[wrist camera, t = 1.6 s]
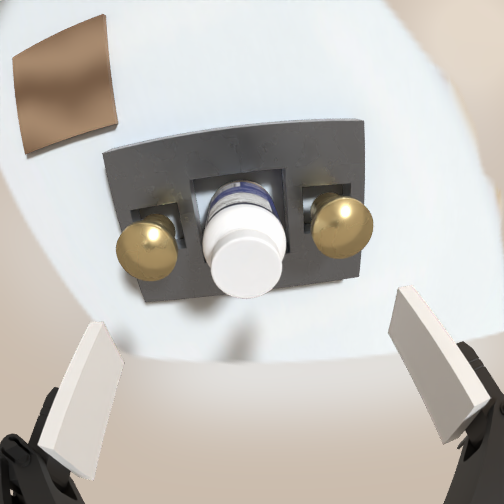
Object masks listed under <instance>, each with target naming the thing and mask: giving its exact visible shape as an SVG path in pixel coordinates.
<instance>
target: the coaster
mask: <svg viewBox="0 0 504 504" xmlns="http://www.w3.org/2000/svg"><path fill="white" fill-rule="evenodd" d="M12 60H13V76H14V88H15V97H16V105H17V112H18V119H19V125H20V131H21V136H22V142H23V147H24V151H25V154H28V153H30V152H33V151H35V150H38V149H40V148H43V147H46V146H48V145H51V144H54V143H56V142H59V141H62V140H65V139H68V138H71V137H74V136H77V135H80V134H83V133H86V132H89V131H92V130H96V129H99V128H103V127H106V126H110V125H113V124H117V123H118V119H117V113H116V107H115V100H114V93H113V86H112V78H111V70H110V61H109V51H108V40H107V27H106V15H104V14H102V15H99V16H96V17H94V18H91V19H89V20H86V21H84V22H81V23H79V24H77V25H74V26H72V27H70V28H67V29H65V30H63V31H61V32H59V33H57V34H55V35H53V36H51V37H49V38H47V39H45V40H43V41H41V42H39V43H37V44H35V45H33V46H32V47H30V48H28V49H26V50H24V51H23V52H21V53H19V54H18V55H16V56H14V57H13V58H12Z"/></svg>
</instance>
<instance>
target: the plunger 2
mask: <svg viewBox="0 0 504 504" xmlns="http://www.w3.org/2000/svg"><path fill="white" fill-rule="evenodd" d="M310 214H311V218H312V221H311V236H312V238H313V241H314V243H315V244H316V246H317V248H318V249H319V250H320V252H322V253H323V254H324V255H326V256H328V257H330V258H335V259H344V258H348V257H351V256H353V255H355V254H357V253H358V252H360V251H361V250H362V249H363V248H364V247H365V246H366V245H367V243H368V242H369V240H370V238H371V235H372V232H373V219H372V216H371V213H370V212H369V210H368V209H367V208H366V207H365V206H364V205H363V204H362V203H361V202H360V201H358V200H357V199H355V198H353V197H349V196H340V195H338V194H336V193H332V192H328V193H324V194H321V195H320V196H318V197H317V198H316V199H315V200H314V202H313V203H312V206H311V210H310Z"/></svg>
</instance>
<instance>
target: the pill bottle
mask: <svg viewBox="0 0 504 504" xmlns="http://www.w3.org/2000/svg"><path fill="white" fill-rule="evenodd" d="M285 251H286V237H285V232H284V229H283V226H282V224H281V221H280V219H279V216H278V213H277V211H276V208H275V206H274V203H273V201H272V199H271V197H270V195H269V193H268V192H267V191H266V190H265V189H264V188H263V187H262V186H261V185H259V184H257V183H255V182H252V181H249V180H234V181H231V182H228V183H226V184H224V185H223V186H221V187H220V188H219V189H218V190H217V191H216V192H215V194H214V195H213V197H212V199H211V202H210V205H209V210H208V215H207V221H206V226H205V230H204V235H203V253H204V257H205V259H206V262H207V263H208V265H209V267H210V268H211V275H212V278H213V280H214V282H215V284H216V285H217V286H218V288H219V289H220V290H222V291H223V292H224V293H226V294H228V295H230V296H233V297H236V298H242V299H249V298H255V297H259V296H261V295H263V294H265V293H267V292H269V291H270V290H271V289H272V288H273V287H274V286H275V285H276V284H277V282H278V280H279V278H280V276H281V272H282V260H283V258H284V255H285Z"/></svg>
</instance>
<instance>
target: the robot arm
mask: <svg viewBox="0 0 504 504" xmlns="http://www.w3.org/2000/svg"><path fill="white" fill-rule="evenodd" d="M388 334H389V336H390V338H391V339H392V341H393V343H394V345H395V347H396V349H397V350H398V352H399V354H400V356H401V358H402V360H403V362H404V363H405V365H406V368H407V369H408V371H409V373H410V375H411V377H412V379H413V381H414V383H415V385H416V387H417V389H418V391H419V393H420V395H421V397H422V399H423V402H424V404H425V406H426V408H427V410H428V412H429V414H430V416H431V419H432V421H433V423H434V425H435V427H436V430H437V432H438V434H439V436H440V439H441V440H442V443H443V445H444V444H446V443H448V442H450V441H452V440H454V439H456V438H459V437H460V435H461V434H462V433H463V432H464V431H466V433H467V436H466V437H465V438H464V440H463V441H462V442H461V443H460V444H459V445H458V447H457V449H460V448H461V447H462V446H463V449H462V452H461V456H460V459H459V462H458V465H457V468H456V471H455V474H454V477H453V480H452V483H451V486H450V488H449V491H448V493H447V496H446V499H445V501H444V503H443V504H504V394H503V393H502V392H501V391H500V389H499V387H498V386H497V384H496V383H495V381H494V380H493V378H492V377H491V375H490V373H489V372H488V370H487V369H486V367H484V365H483V363H482V361H481V360H480V359H479V357H478V356H477V354H476V353H475V351H474V350H473V349H472V348H471V347H470V346H469V345H467V344H466V343H465V342H463V341H462V342H460V343H457V344H456V343H455V342H454V340H453V339H452V338H451V336H450V335H449V333H448V332H447V331H446V329H445V328H444V326H443V325H442V324H441V322H440V321H439V319H438V318H437V317H436V315H435V314H434V313H433V311H432V310H431V309H430V307H429V306H428V305H427V303H426V302H425V301H424V300H423V298H422V297H421V296H420V294H419V293H418V292H417V291H416V289H415V288H414V287H413V286H412V285H409V286H404V287H399V288H398V290H397V295H396V300H395V305H394V309H393V314H392V318H391V322H390V327H389V331H388ZM124 363H125V362H124V360H123V359H122V357H121V355H120V353H119V351H118V349H117V347H116V345H115V344H114V342H113V340H112V338H111V336H110V334H109V332H108V330H107V328H106V326H105V324H104V322H90V323H89V325H88V327H87V329H86V331H85V333H84V335H83V337H82V339H81V341H80V344H79V346H78V347H77V349H76V352H75V354H74V356H73V358H72V360H71V362H70V365H69V367H68V369H67V371H66V374H65V376H64V378H63V381H62V383H61V385H60V387H59V388H57V387H54V388H53V389H52V390H51V392H50V393H49V394H48V395H47V397H46V399H45V402H44V404H43V408H42V409H41V412H40V416H39V417H38V419H37V422H36V424H35V427H34V429H33V433H32V435H31V438H30V441H29V443H28V444H27V443H26V442H25V441H24V440H23V439H22V438H21V437H19V436H18V435H17V434H9V435H7V436H6V437H4V438H3V440H2V441H1V443H0V504H85V503H84V501H83V499H82V497H81V495H80V493H79V491H78V489H77V488H76V486H75V484H74V481H73V480H72V479H71V477H70V472H72V473H74V474H75V475H77V476H78V477H81V478H85V479H90V480H94V478H95V473H96V468H97V463H98V459H99V455H100V450H101V446H102V442H103V438H104V434H105V430H106V426H107V422H108V418H109V415H110V411H111V407H112V403H113V400H114V397H115V393H116V390H117V386H118V383H119V380H120V376H121V373H122V370H123V366H124ZM10 489H11V490H13V496H12V495H11V494H10Z"/></svg>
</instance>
